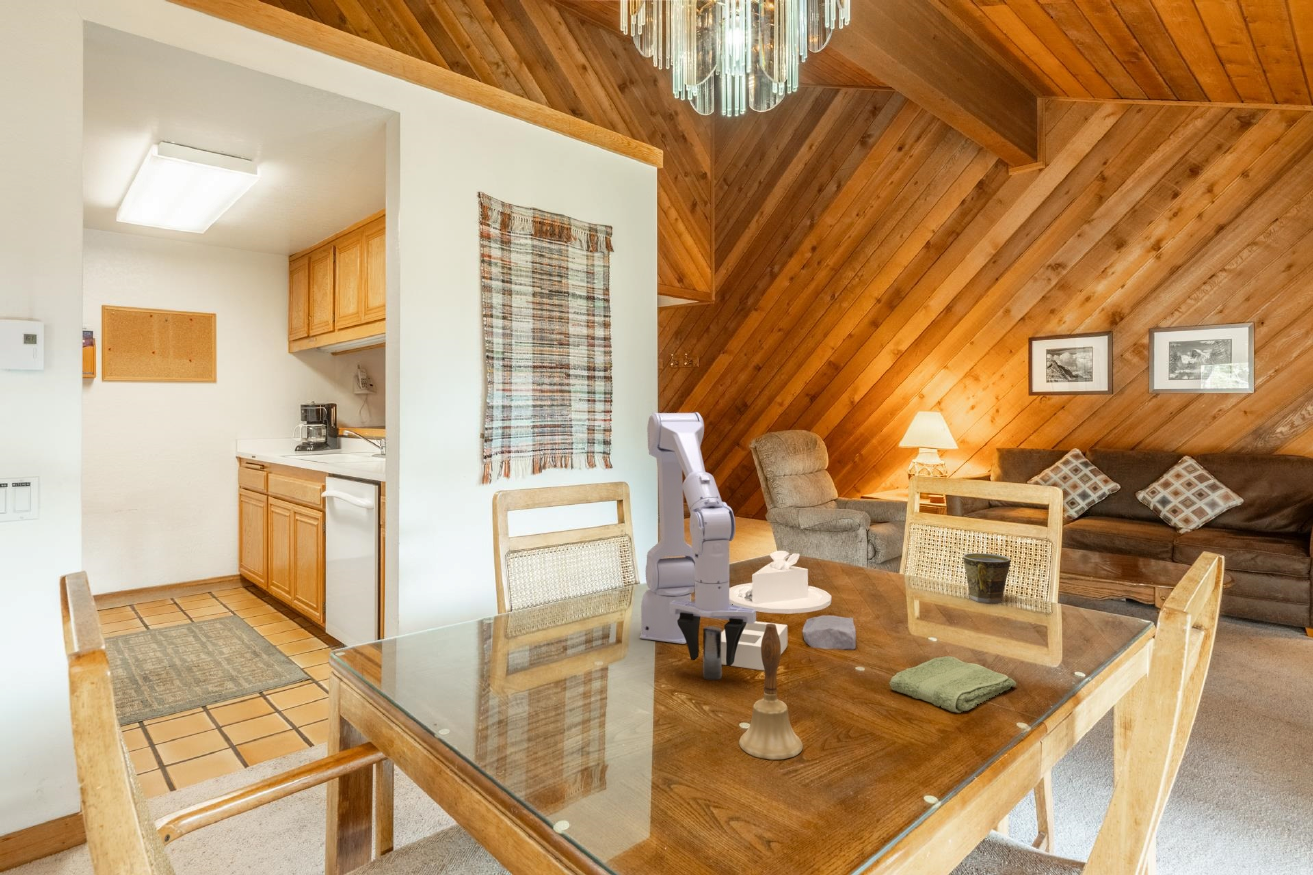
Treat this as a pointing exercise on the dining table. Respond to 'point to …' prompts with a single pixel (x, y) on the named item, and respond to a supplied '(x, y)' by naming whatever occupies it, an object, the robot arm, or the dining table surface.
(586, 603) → the dining table surface
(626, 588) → the dining table surface
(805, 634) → the stone block
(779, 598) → the dish
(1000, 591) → the ceramic cup
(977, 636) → the dining table surface
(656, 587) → the robot arm
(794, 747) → the hand bell
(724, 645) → the hole block
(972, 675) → the washcloth
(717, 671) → the peg
